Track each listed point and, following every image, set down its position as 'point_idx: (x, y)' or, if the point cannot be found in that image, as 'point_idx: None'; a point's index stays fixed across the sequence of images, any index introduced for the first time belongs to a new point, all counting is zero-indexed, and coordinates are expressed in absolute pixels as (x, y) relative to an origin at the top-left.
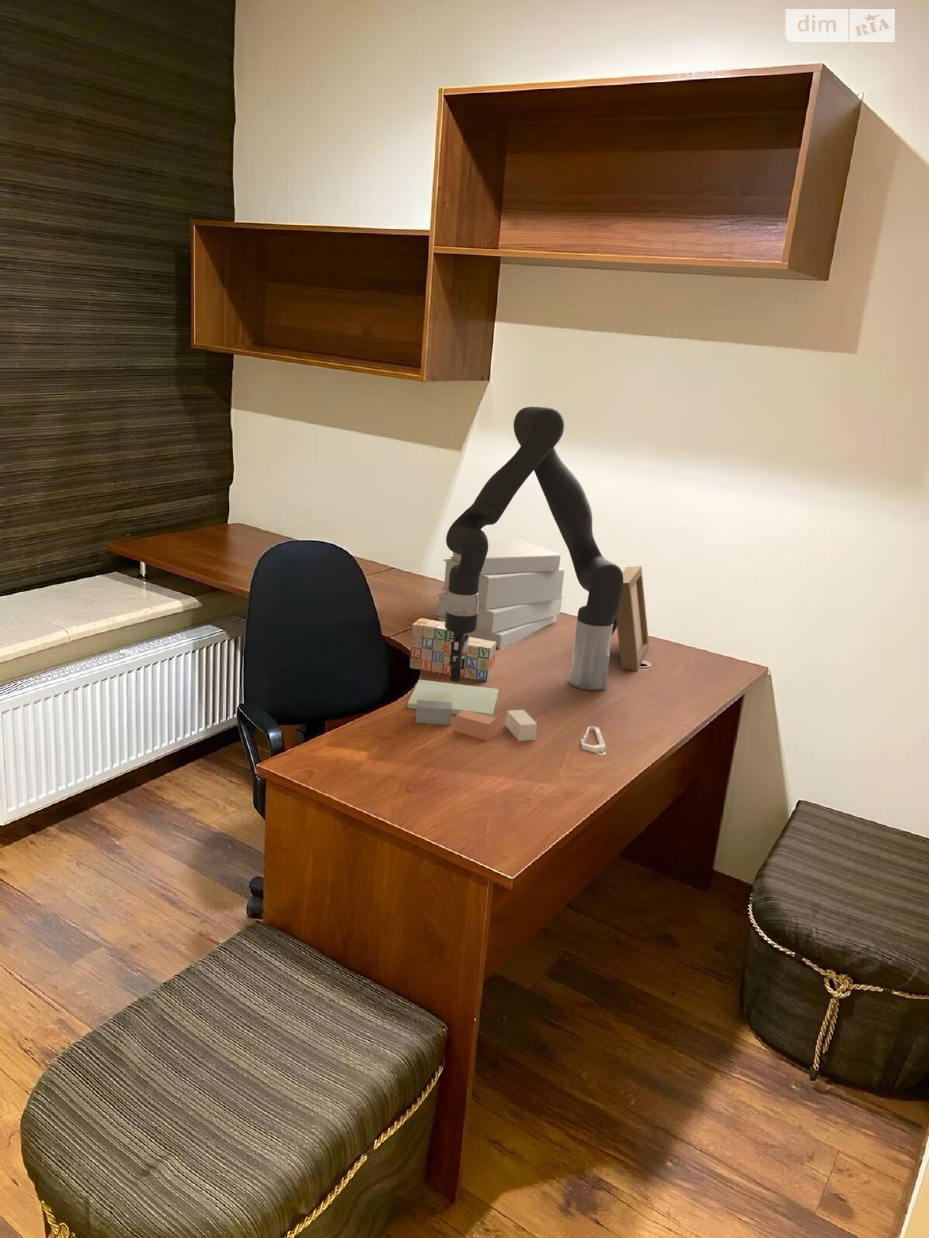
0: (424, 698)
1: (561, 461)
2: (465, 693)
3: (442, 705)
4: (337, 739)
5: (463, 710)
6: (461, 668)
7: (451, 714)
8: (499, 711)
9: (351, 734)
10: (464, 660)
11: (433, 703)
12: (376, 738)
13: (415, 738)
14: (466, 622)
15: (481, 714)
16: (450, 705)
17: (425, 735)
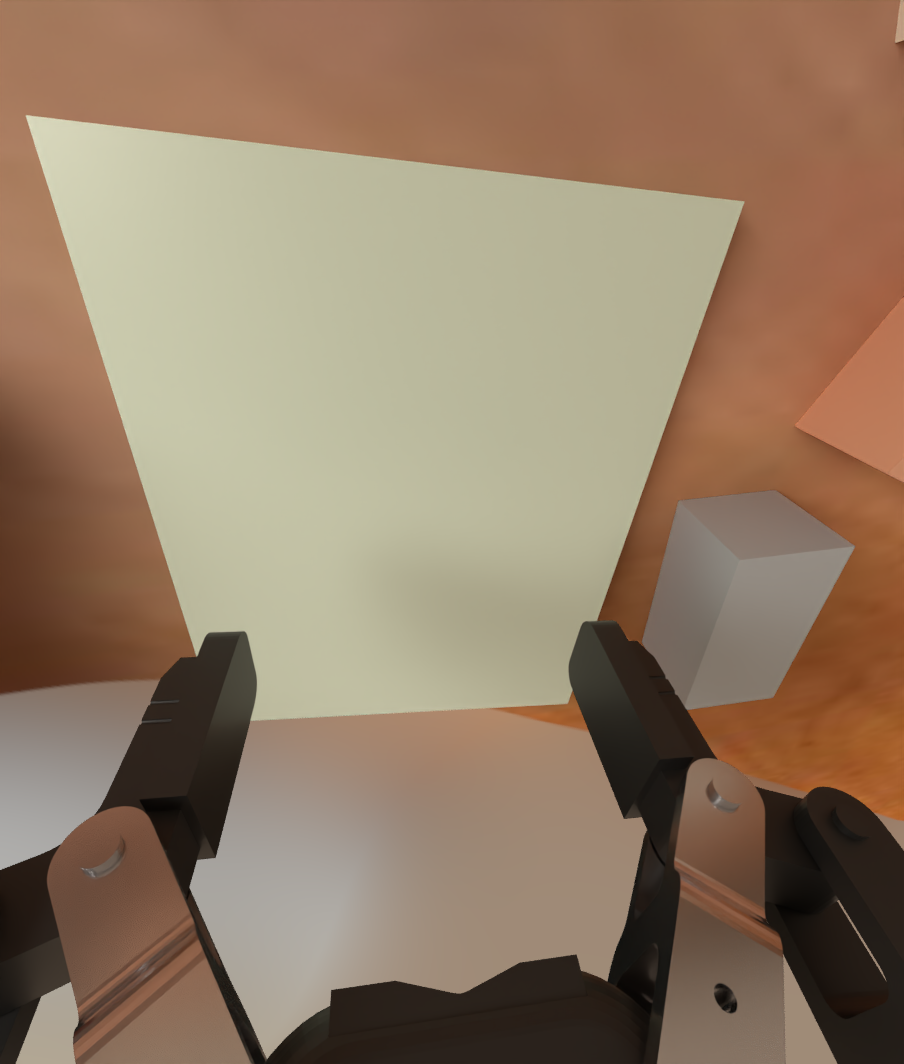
0: (493, 659)
1: None
2: (333, 467)
3: (779, 601)
4: (817, 771)
5: (899, 475)
6: (245, 648)
7: (824, 525)
8: (555, 114)
9: (791, 756)
10: (211, 719)
11: (740, 644)
12: (841, 703)
13: (886, 605)
14: None
15: None
16: (792, 562)
17: (869, 577)
